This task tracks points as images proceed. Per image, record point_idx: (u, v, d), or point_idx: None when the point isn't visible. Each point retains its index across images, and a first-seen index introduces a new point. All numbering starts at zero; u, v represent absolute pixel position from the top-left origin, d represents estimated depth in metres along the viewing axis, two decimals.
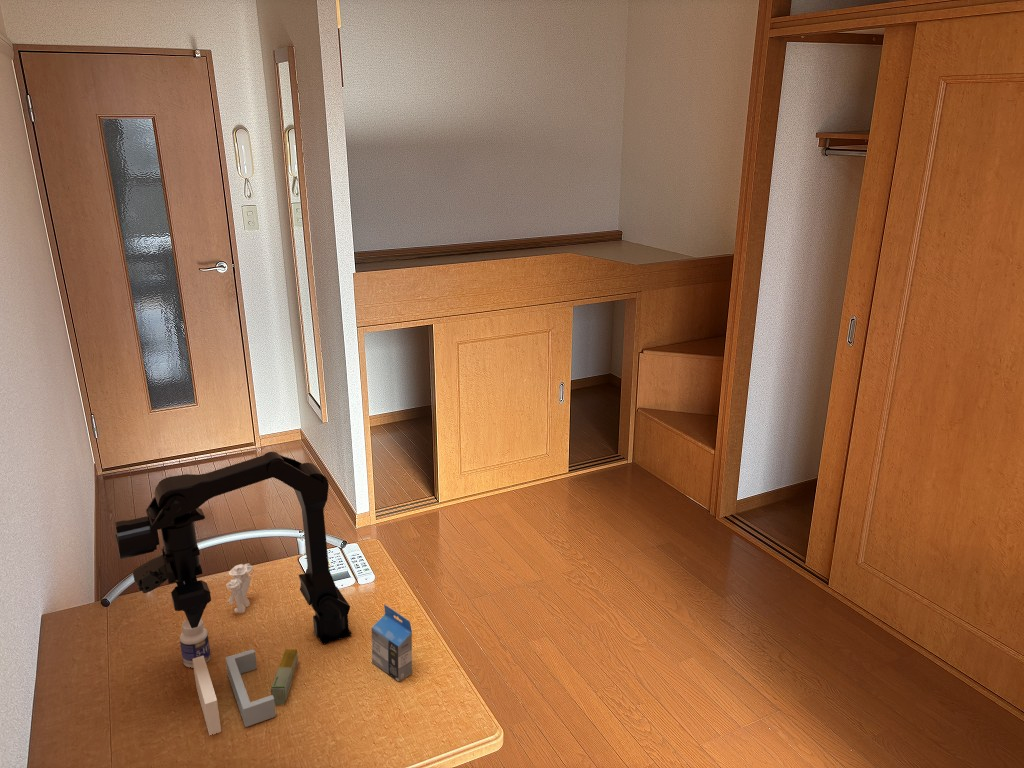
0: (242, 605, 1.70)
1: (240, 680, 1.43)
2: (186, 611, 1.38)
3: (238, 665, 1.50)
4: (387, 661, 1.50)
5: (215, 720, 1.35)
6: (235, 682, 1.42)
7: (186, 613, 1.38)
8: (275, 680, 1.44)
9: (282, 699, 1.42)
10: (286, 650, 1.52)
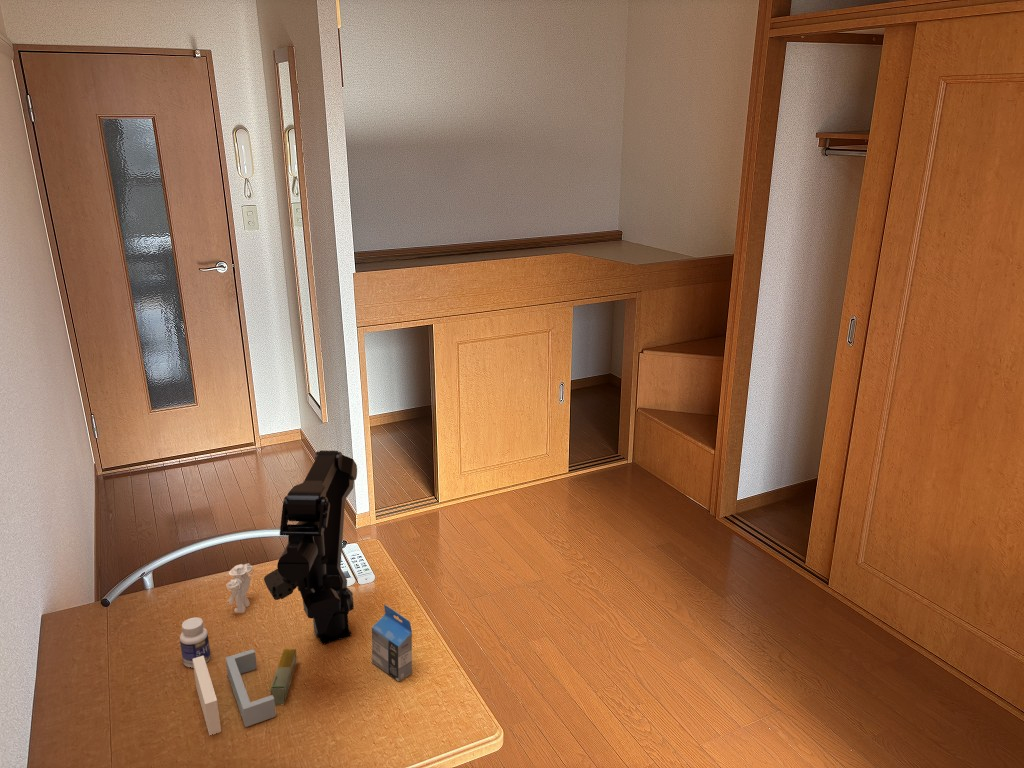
0: (242, 605, 1.70)
1: (240, 680, 1.43)
2: (315, 617, 1.41)
3: (238, 665, 1.50)
4: (387, 661, 1.50)
5: (215, 720, 1.35)
6: (235, 682, 1.42)
7: (315, 619, 1.41)
8: (274, 680, 1.44)
9: (282, 698, 1.42)
10: (285, 650, 1.52)
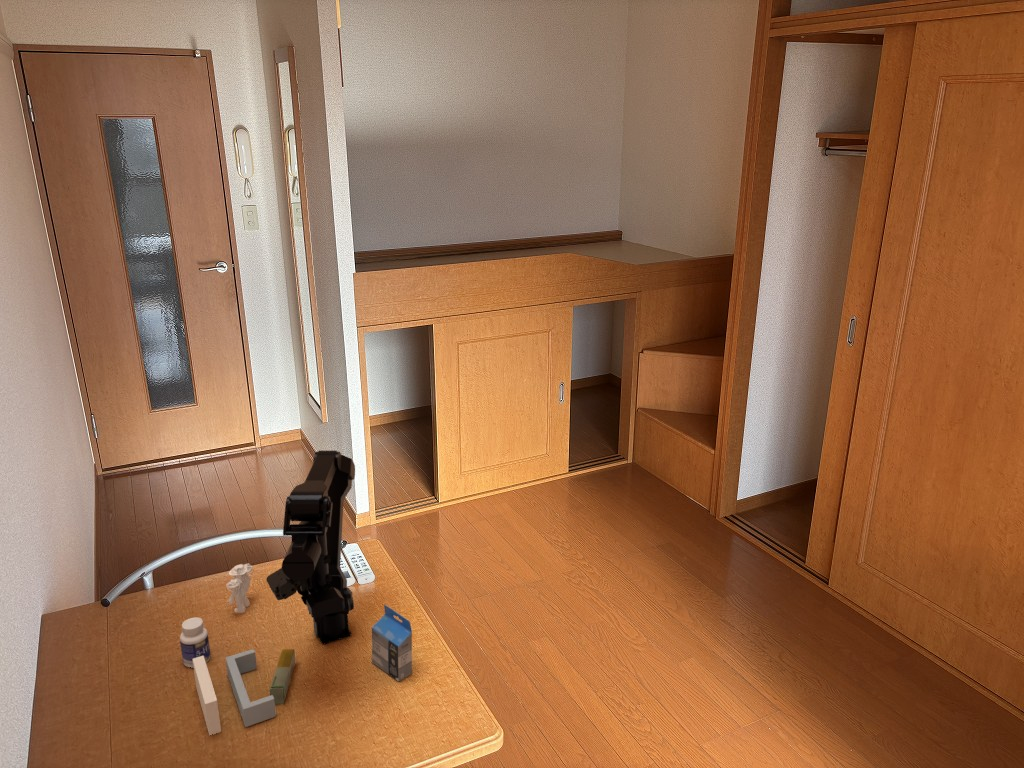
0: (242, 605, 1.70)
1: (240, 680, 1.43)
2: None
3: (238, 665, 1.50)
4: (387, 661, 1.50)
5: (215, 720, 1.35)
6: (235, 682, 1.42)
7: None
8: (274, 680, 1.44)
9: (281, 698, 1.42)
10: (283, 650, 1.52)
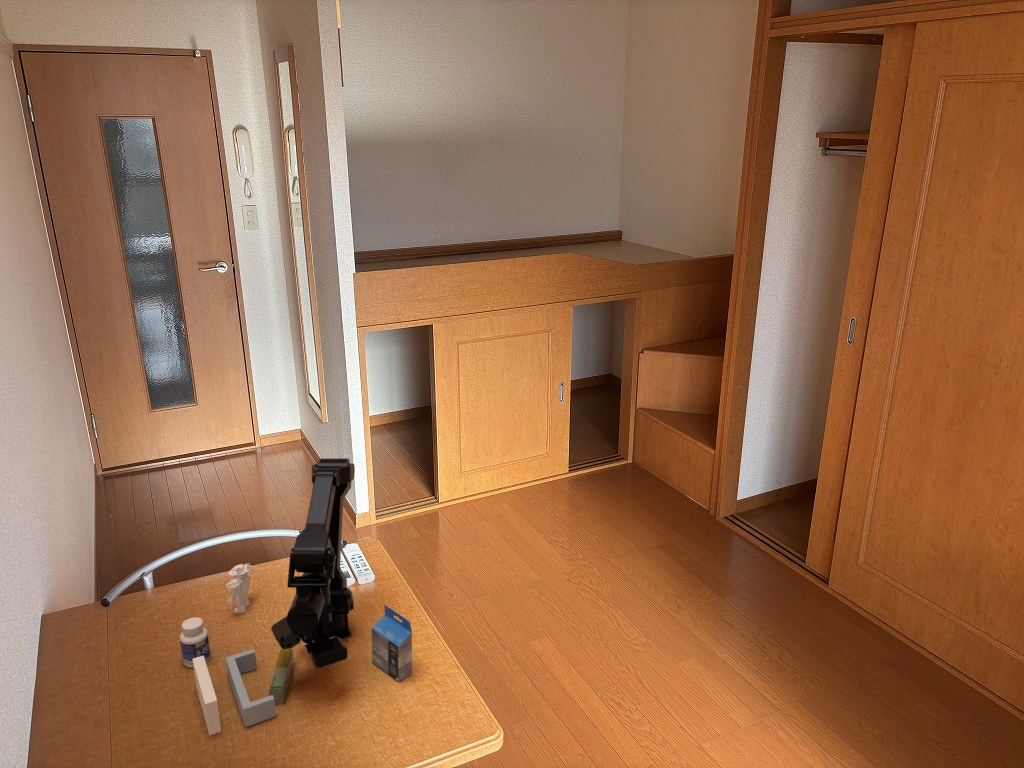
0: (242, 605, 1.70)
1: (240, 680, 1.43)
2: None
3: (238, 665, 1.50)
4: (387, 661, 1.50)
5: (215, 720, 1.35)
6: (235, 682, 1.42)
7: None
8: (273, 680, 1.44)
9: (281, 698, 1.42)
10: (281, 650, 1.52)
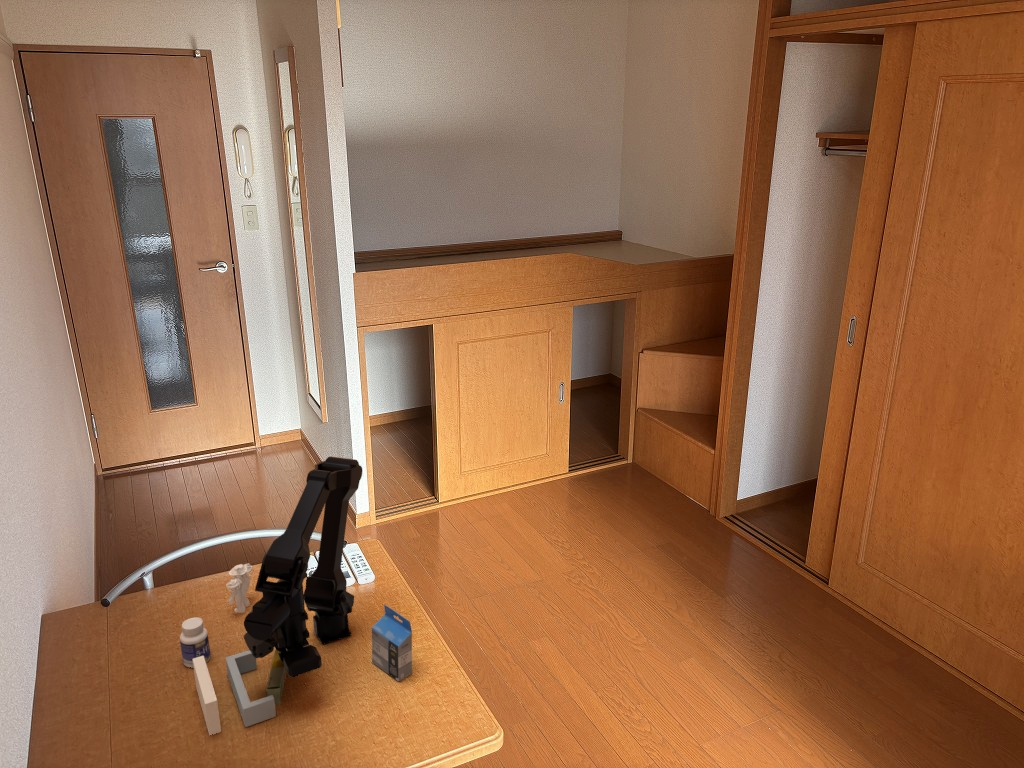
0: (242, 605, 1.70)
1: (240, 680, 1.43)
2: None
3: (238, 665, 1.50)
4: (387, 661, 1.50)
5: (215, 720, 1.35)
6: (235, 682, 1.42)
7: None
8: (269, 680, 1.43)
9: (278, 698, 1.42)
10: (276, 651, 1.52)
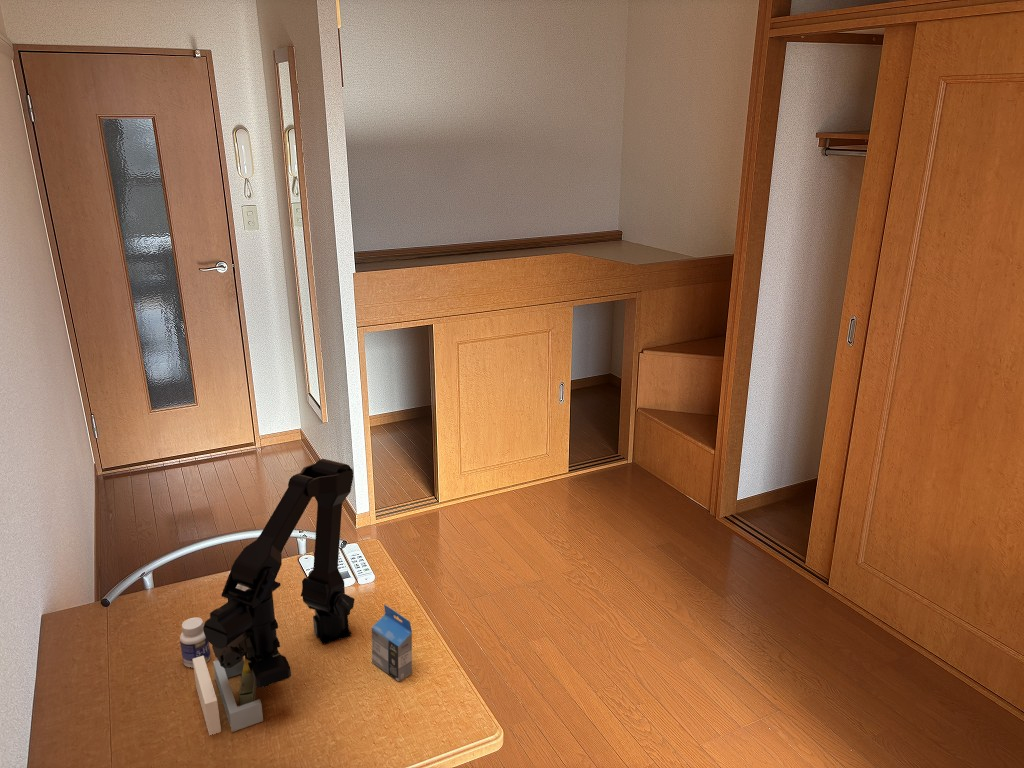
0: None
1: (227, 684, 1.42)
2: None
3: (226, 669, 1.48)
4: (387, 661, 1.50)
5: (215, 720, 1.35)
6: (222, 686, 1.41)
7: None
8: (241, 687, 1.42)
9: None
10: None
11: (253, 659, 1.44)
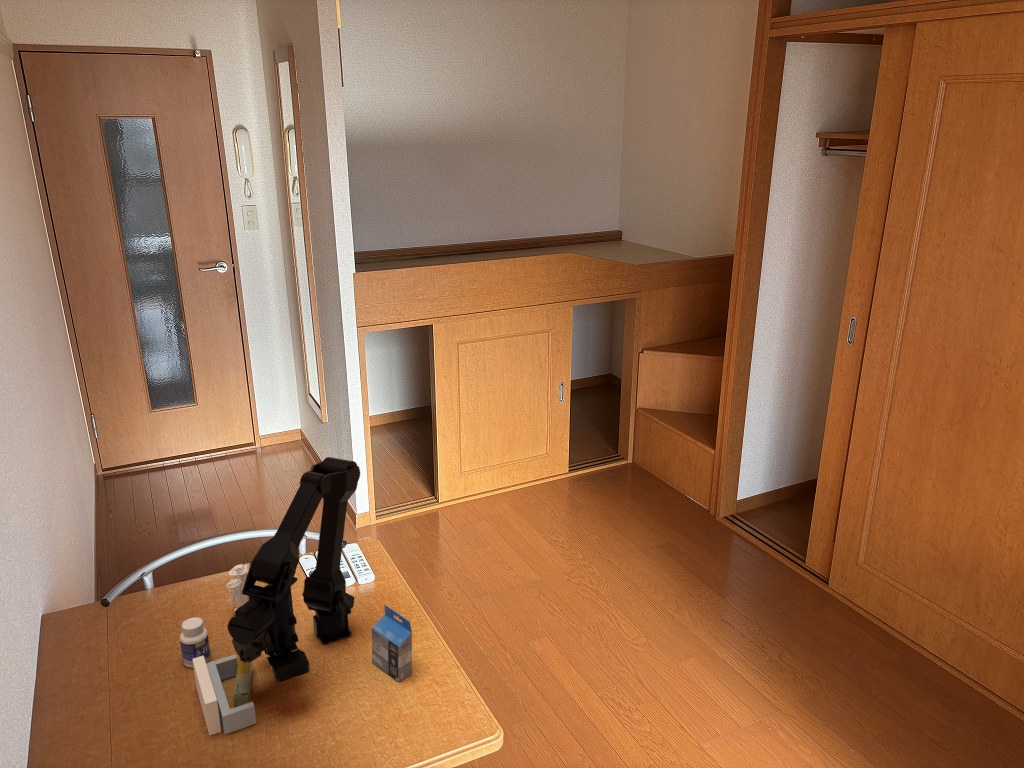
0: None
1: (220, 686, 1.41)
2: None
3: (219, 671, 1.48)
4: (387, 661, 1.50)
5: (215, 720, 1.35)
6: (215, 688, 1.40)
7: None
8: (236, 688, 1.41)
9: None
10: None
11: (272, 654, 1.46)
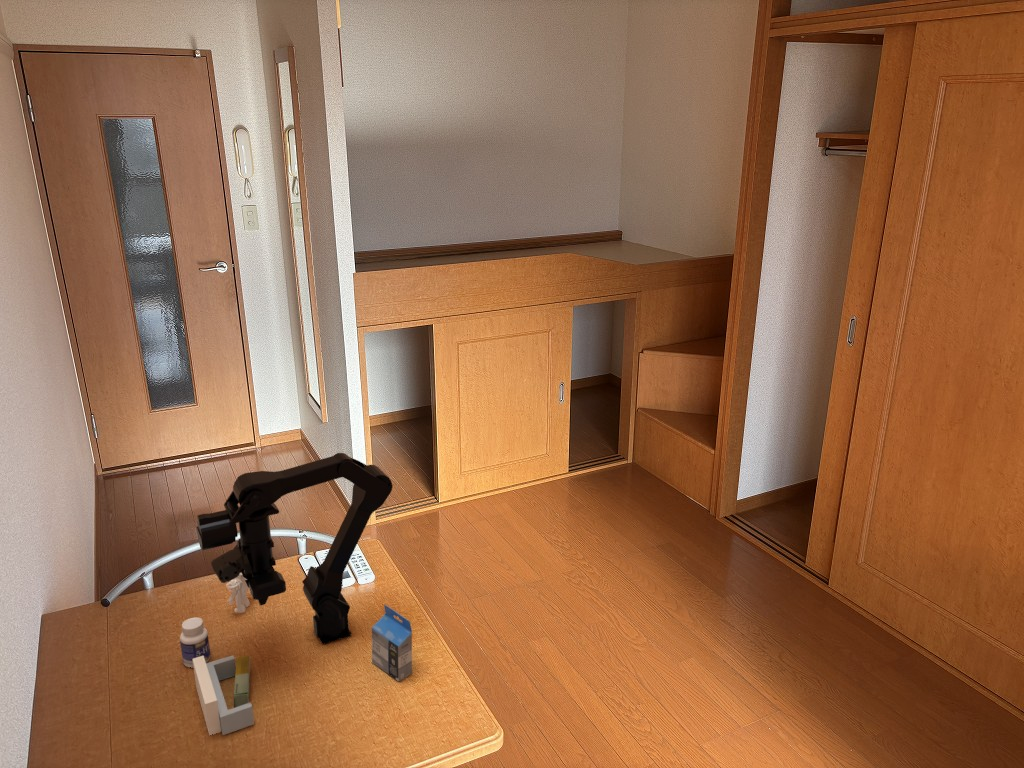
0: (242, 605, 1.70)
1: (218, 687, 1.41)
2: None
3: (217, 672, 1.48)
4: (387, 661, 1.50)
5: (215, 720, 1.35)
6: None
7: None
8: (236, 687, 1.41)
9: None
10: (238, 658, 1.50)
11: (250, 578, 1.51)
